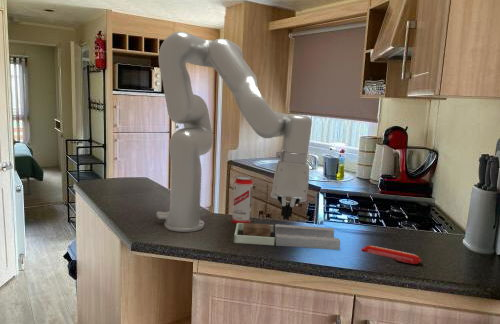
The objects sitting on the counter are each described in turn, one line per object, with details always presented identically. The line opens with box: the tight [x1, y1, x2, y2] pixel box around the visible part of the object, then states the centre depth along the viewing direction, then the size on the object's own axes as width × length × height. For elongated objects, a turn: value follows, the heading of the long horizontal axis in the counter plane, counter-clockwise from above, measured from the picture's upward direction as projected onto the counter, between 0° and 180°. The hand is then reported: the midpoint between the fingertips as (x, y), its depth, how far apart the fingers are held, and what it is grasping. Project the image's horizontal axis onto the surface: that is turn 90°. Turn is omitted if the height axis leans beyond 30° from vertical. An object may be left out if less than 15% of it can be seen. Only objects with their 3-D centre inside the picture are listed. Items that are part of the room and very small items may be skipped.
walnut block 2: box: [256, 223, 272, 237], centre depth 118 cm, size 4×4×4 cm
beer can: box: [231, 175, 254, 225], centre depth 131 cm, size 6×6×16 cm
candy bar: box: [361, 245, 423, 265], centre depth 110 cm, size 16×4×3 cm, turn 64°
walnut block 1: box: [242, 222, 258, 236], centre depth 117 cm, size 4×4×4 cm
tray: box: [233, 223, 276, 246], centre depth 118 cm, size 12×12×3 cm
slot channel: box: [274, 223, 341, 251], centre depth 118 cm, size 18×12×4 cm, turn 88°
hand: (285, 218), depth 117 cm, fingers closed
